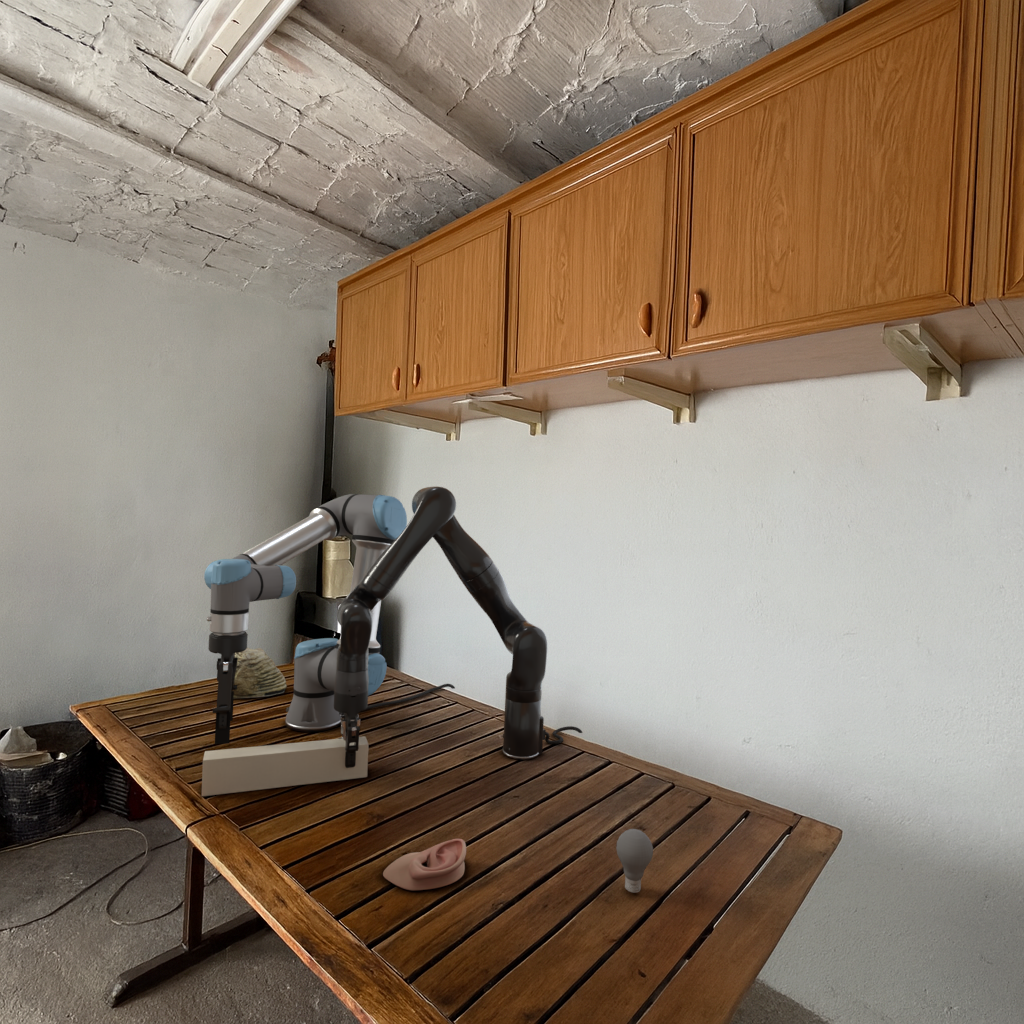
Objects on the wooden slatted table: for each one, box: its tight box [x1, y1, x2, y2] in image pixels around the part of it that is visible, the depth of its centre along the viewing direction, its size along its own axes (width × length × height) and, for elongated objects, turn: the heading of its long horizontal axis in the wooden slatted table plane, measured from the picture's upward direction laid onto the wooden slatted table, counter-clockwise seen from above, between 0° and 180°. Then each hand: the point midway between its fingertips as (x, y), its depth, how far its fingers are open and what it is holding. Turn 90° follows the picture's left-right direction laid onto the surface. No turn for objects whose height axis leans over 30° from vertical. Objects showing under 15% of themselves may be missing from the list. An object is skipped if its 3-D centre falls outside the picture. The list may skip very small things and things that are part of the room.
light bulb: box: [615, 828, 654, 894], centre depth 106 cm, size 6×6×10 cm
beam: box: [201, 735, 369, 797], centre depth 140 cm, size 34×5×8 cm, turn 111°
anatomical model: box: [382, 838, 467, 891], centre depth 108 cm, size 13×4×12 cm
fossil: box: [231, 647, 288, 699], centre depth 198 cm, size 9×18×15 cm, turn 132°
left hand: (224, 731), depth 135 cm, fingers open, 13 cm apart
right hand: (348, 761), depth 145 cm, fingers closed on beam, 5 cm apart
